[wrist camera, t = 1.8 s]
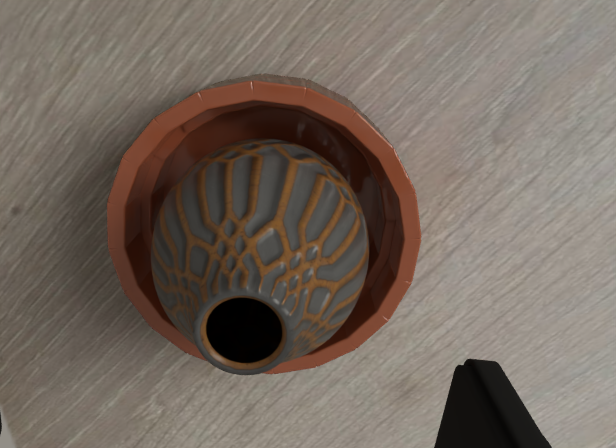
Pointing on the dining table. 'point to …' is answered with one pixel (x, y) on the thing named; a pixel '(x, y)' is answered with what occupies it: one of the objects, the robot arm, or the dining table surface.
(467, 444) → the robot arm
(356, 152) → the bowl
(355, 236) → the vase
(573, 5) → the dining table surface
